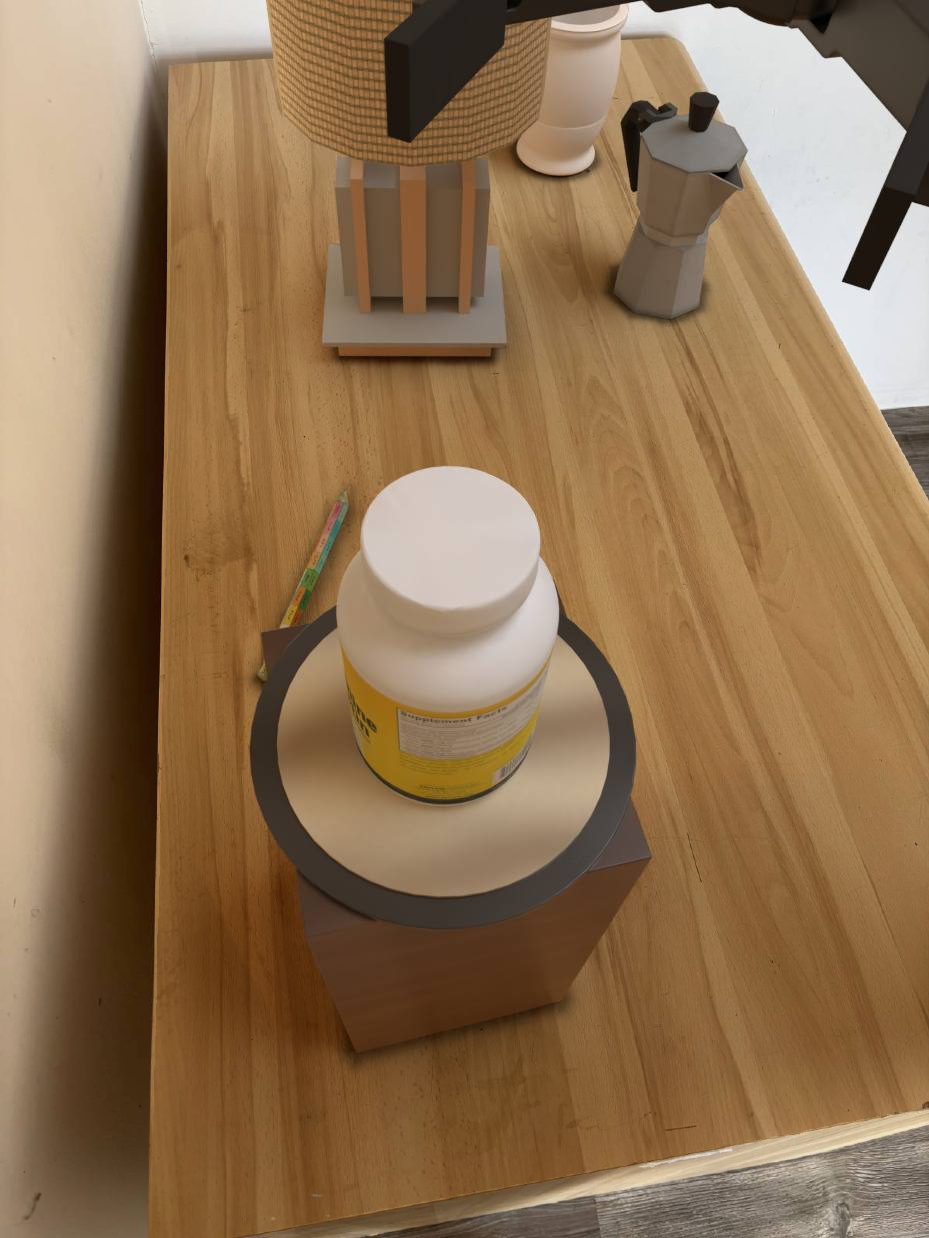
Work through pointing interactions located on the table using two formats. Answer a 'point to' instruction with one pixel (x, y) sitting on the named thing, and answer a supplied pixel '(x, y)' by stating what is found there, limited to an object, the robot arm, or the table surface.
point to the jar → (575, 90)
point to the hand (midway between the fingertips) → (622, 163)
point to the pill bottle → (446, 634)
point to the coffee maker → (674, 200)
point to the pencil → (313, 567)
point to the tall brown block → (447, 846)
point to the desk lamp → (405, 178)
